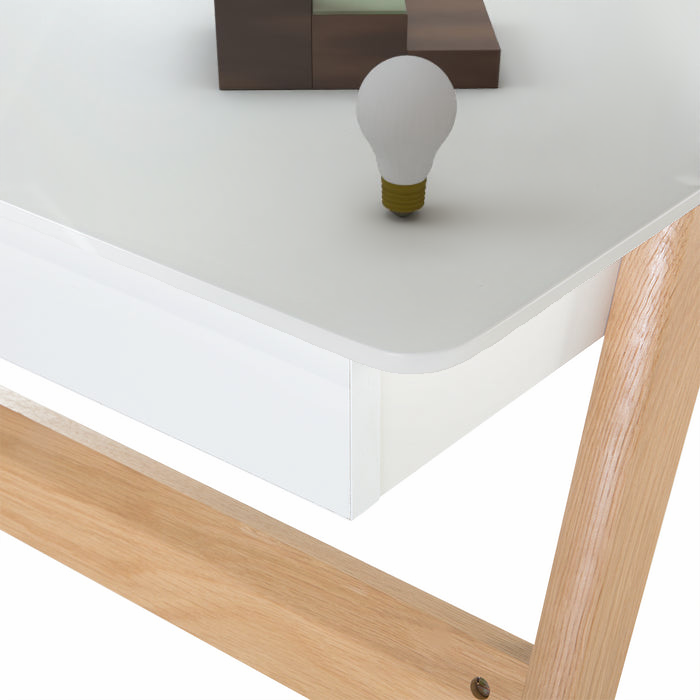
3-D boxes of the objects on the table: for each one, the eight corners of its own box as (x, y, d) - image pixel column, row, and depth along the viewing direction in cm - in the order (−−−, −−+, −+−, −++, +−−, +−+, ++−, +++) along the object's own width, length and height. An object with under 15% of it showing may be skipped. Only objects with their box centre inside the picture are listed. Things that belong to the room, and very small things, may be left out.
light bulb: (469, 222, 75) (480, 65, 70) (388, 246, 73) (392, 86, 67) (416, 184, 79) (422, 34, 74) (337, 206, 77) (337, 52, 71)
